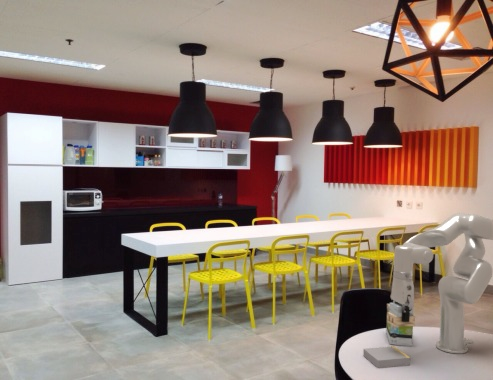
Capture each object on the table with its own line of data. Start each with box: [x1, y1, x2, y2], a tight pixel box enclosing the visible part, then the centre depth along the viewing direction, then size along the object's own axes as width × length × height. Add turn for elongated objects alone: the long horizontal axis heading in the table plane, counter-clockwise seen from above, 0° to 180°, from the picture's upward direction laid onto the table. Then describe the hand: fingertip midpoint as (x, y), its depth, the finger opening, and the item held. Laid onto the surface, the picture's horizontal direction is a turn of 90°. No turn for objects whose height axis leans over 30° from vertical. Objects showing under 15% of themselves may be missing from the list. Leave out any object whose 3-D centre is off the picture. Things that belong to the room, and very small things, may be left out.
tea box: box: [385, 303, 414, 347], centre depth 203 cm, size 15×10×15 cm, turn 168°
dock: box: [362, 345, 411, 369], centre depth 180 cm, size 14×12×3 cm
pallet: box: [386, 302, 416, 327], centre depth 182 cm, size 9×6×8 cm, turn 102°
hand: (400, 318), depth 182 cm, fingers closed on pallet, 6 cm apart
